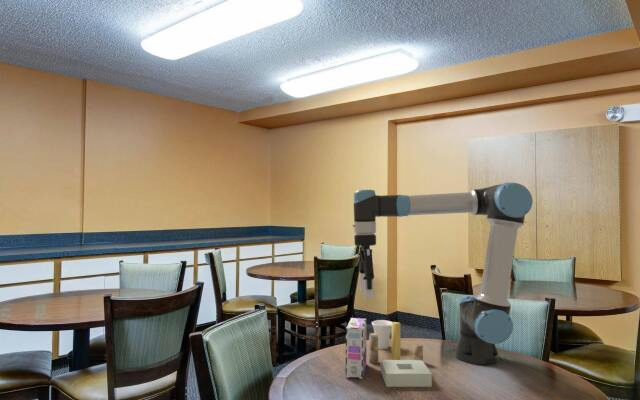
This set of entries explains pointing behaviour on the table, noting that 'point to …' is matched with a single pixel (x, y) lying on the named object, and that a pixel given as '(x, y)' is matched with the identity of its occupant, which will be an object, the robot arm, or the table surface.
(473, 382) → the table surface
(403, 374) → the socket block
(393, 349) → the pin long
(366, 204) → the robot arm
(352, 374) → the candy box
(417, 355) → the pin short
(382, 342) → the cup
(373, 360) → the pin medium
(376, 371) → the table surface
